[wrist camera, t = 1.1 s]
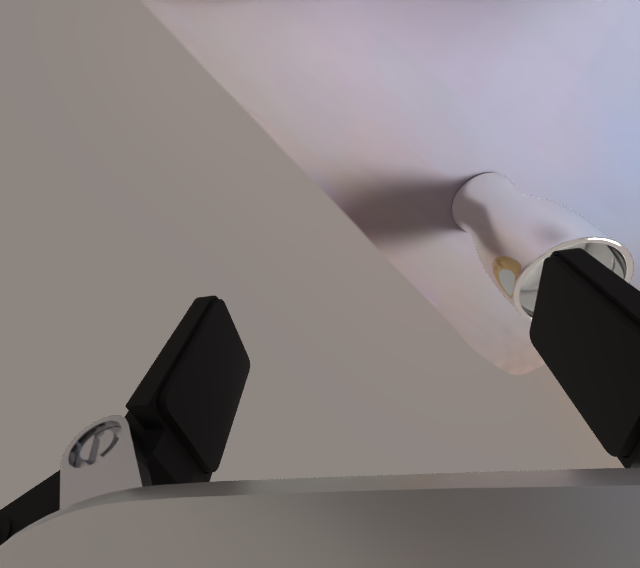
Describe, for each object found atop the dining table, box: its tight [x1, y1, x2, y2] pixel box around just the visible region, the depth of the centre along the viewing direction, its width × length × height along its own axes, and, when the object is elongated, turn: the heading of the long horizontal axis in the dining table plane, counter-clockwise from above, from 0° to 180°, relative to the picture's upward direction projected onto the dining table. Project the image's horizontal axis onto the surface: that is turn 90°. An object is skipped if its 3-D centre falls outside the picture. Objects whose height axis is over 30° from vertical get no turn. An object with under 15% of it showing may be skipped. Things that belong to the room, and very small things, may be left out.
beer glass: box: [452, 173, 634, 322], centre depth 26 cm, size 7×7×15 cm
